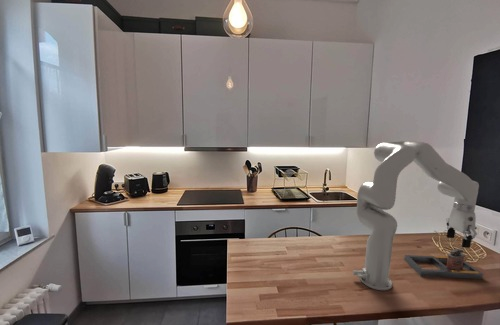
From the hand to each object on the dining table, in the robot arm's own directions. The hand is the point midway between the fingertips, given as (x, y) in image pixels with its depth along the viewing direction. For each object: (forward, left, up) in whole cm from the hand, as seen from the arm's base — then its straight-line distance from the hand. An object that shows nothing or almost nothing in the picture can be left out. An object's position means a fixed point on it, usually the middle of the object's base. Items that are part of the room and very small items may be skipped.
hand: (457, 242), depth 119 cm
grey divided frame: (-6, 0, -14) cm, 15 cm away
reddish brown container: (0, 0, -14) cm, 14 cm away
